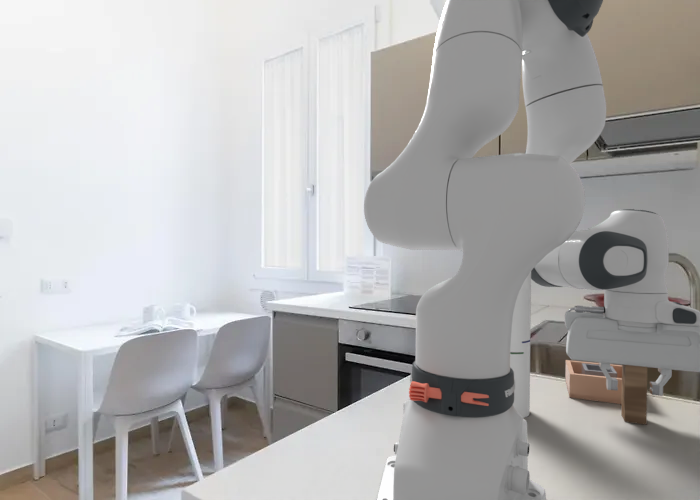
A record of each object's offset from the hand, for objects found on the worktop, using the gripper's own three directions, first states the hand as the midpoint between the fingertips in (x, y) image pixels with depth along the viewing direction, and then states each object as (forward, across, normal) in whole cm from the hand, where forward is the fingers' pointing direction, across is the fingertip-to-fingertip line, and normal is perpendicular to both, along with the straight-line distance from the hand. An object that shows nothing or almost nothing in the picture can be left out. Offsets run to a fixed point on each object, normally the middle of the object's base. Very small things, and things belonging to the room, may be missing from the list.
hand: (633, 391), depth 72 cm
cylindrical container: (+5, -20, -4) cm, 21 cm away
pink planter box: (+5, -3, +13) cm, 14 cm away
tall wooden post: (+5, 0, 0) cm, 5 cm away
